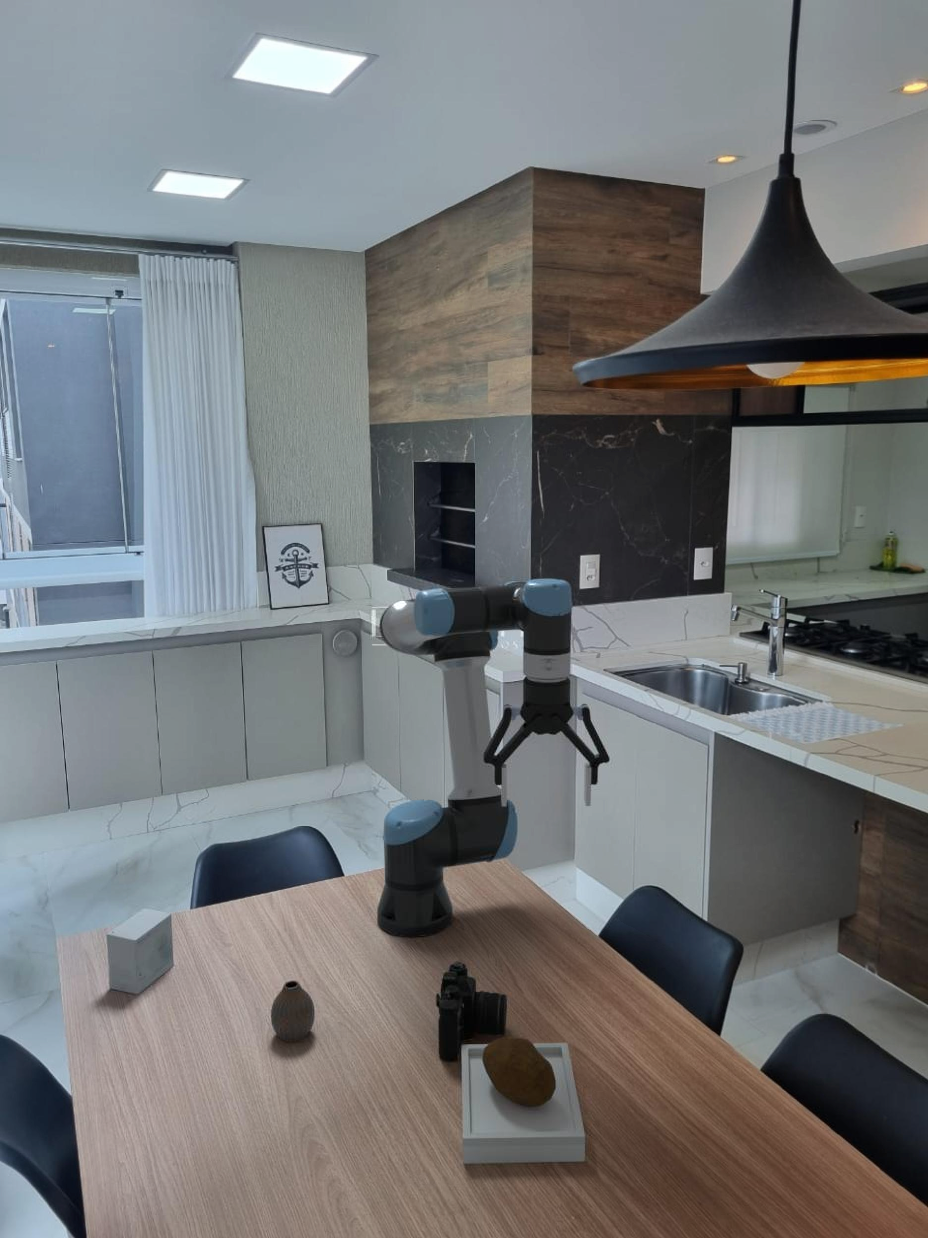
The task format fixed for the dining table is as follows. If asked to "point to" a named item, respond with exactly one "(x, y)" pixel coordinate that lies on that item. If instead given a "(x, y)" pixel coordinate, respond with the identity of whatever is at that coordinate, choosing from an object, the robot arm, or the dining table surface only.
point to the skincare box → (140, 951)
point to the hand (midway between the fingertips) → (545, 803)
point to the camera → (466, 1011)
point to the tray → (520, 1115)
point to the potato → (519, 1071)
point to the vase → (292, 1012)
